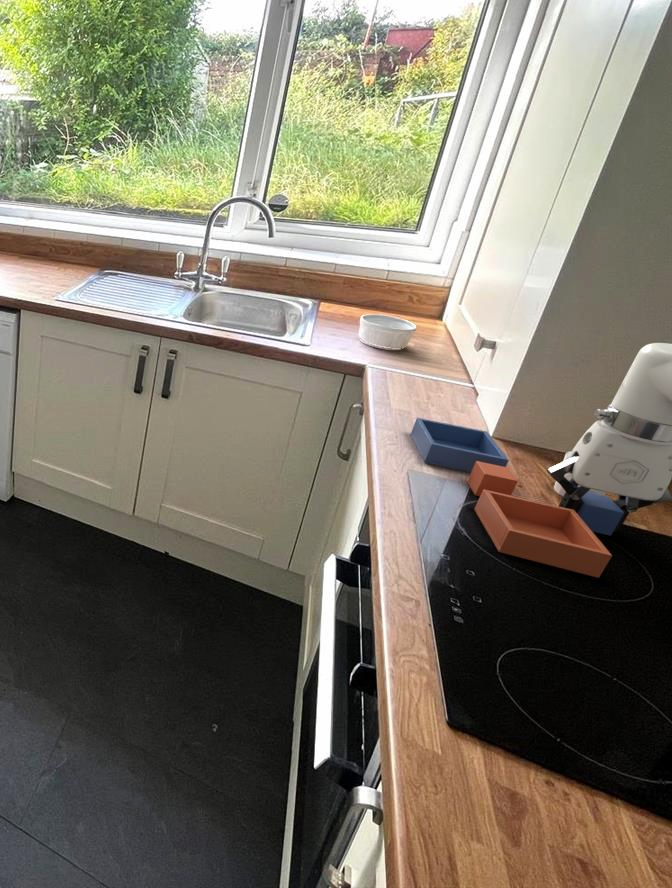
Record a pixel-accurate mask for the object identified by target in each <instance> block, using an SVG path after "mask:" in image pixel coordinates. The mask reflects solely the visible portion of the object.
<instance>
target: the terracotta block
mask: <svg viewBox="0 0 672 888" xmlns="http://www.w3.org/2000/svg"><path fill="white" fill-rule="evenodd" d="M518 482H519V480H518V479H517V478H516V476H515V475H514V473H513V472H512V471H511V470H510V468H509V467H507V466H506V467H502V466H498V465H493V464H488V463H484V462H479V461H476V463H475V465H474V467H473V469H472V472H471V473H470V474H469V477H468V478H467V480H466V483H467V484H468V486H469V488H470V490H471V491H472V493H473V494H474V495H475V496H477V497H480V496H481V494H482V492H483V490H489V491H493V492H498V493H502V494H506V495H511V496H513V495H512V494H513V492H514V490H515V489H516V486H517V485H518Z"/></svg>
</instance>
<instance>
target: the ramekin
mask: <svg viewBox="0 0 672 888" xmlns="http://www.w3.org/2000/svg"><path fill="white" fill-rule="evenodd" d="M359 322H360V323H359V328H358V339H359V341H360V342H361V343H363V344H364V345H366V346H369V347H372V348H376V349H380V350H385V351H401V350H404V349H405V348H406V347H407V346H408V345H409V343H410V341H411V339H412V337H413V335H414V333H416V331H417V325H416V324H415V323H414V322H411V321H409V320H407V319H403V318H400V317H396V316H393V315H387V314H386V315H385V314H377V313H375V314H374V313H368V314H362V315H361V317H360V318H359ZM359 337H360V338H361V339H362V340H364V341H367V342H370V343H373V344H376V345H380V346H385V347H391V348H384V347H379V346H375V345H372V344H369V343H366V342H364V341H362V340H361V339H360V338H359ZM404 347H405V348H404ZM392 348H402V349H392Z"/></svg>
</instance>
